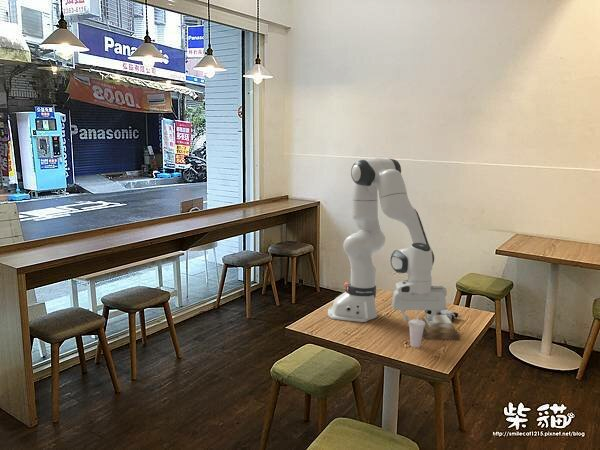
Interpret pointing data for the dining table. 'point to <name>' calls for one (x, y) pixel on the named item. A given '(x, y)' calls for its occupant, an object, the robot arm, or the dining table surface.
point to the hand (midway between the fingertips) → (418, 320)
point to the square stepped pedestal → (439, 328)
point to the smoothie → (416, 331)
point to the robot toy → (444, 313)
